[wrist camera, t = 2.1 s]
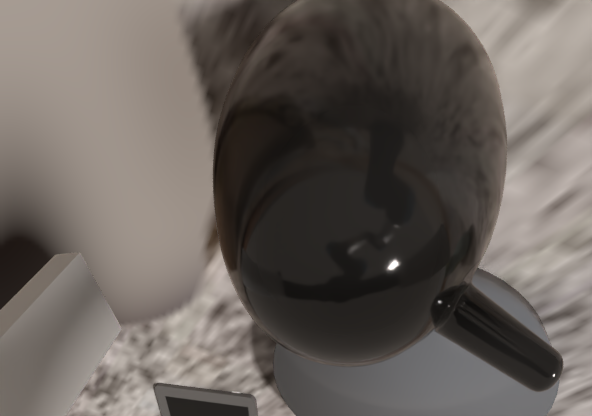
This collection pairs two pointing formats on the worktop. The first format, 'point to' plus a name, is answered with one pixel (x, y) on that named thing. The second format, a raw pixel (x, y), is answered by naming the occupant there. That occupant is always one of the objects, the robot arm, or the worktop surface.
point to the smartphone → (203, 402)
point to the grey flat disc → (418, 376)
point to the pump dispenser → (368, 186)
